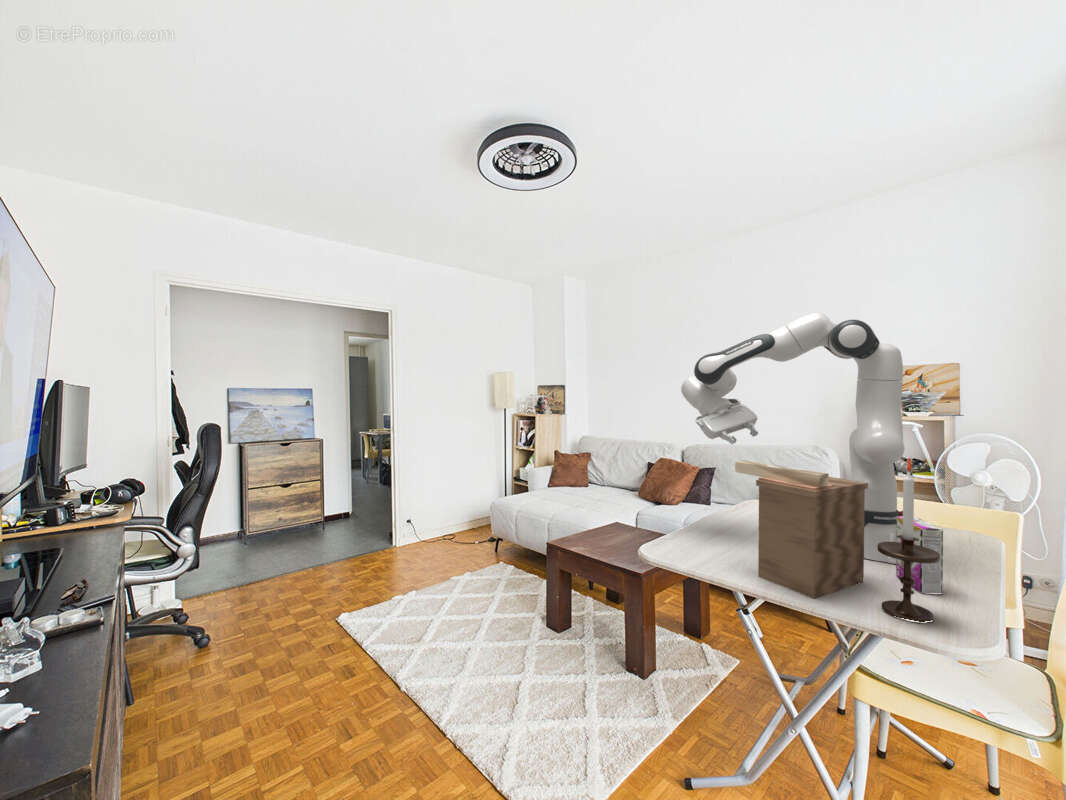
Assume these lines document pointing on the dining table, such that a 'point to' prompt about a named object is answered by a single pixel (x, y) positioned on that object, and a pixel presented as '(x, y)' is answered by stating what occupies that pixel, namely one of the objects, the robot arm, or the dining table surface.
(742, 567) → the dining table surface
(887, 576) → the dining table surface
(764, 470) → the birch block
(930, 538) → the candy bar box
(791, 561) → the walnut shelf
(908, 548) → the candlestick
